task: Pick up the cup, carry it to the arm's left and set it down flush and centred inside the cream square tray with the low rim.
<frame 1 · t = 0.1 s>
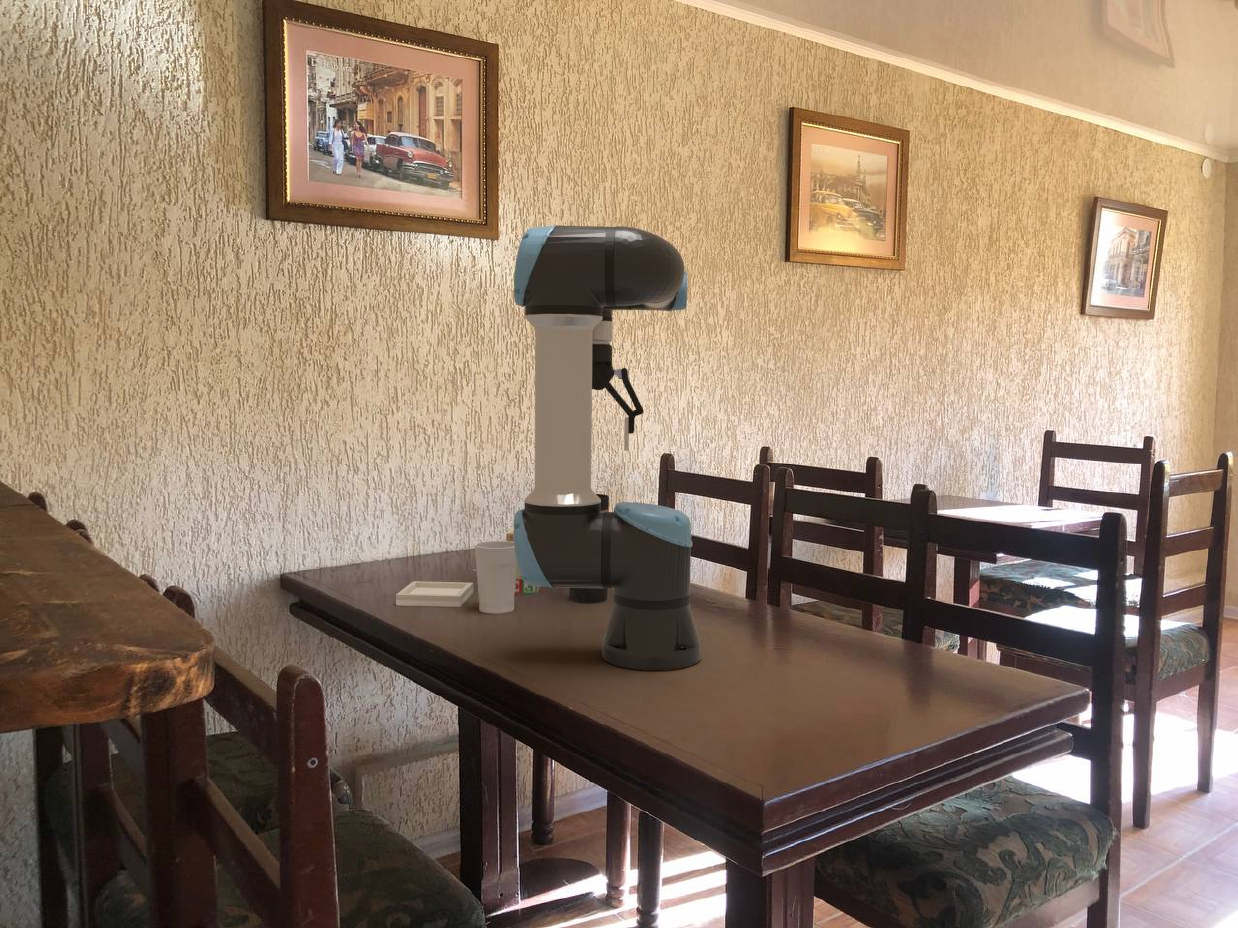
hand: (592, 449, 198), 28 cm above the table, fingers open, 13 cm apart
stack of blocks: (527, 583, 204), on the table
cream square tray: (435, 598, 188), on the table
cup: (496, 610, 180), on the table
travel mug: (588, 600, 189), on the table
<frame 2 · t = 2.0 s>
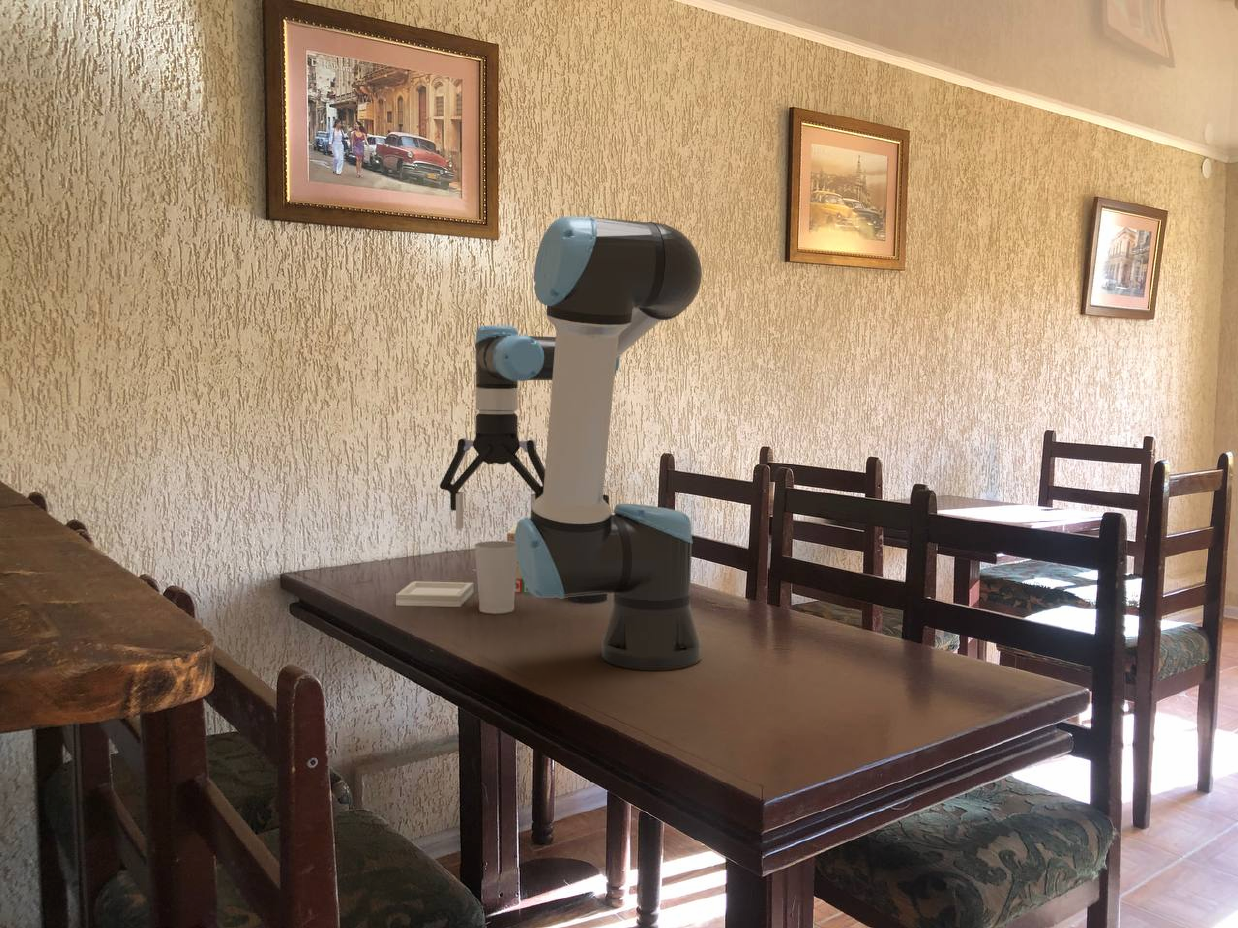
hand: (496, 529, 179), 15 cm above the table, fingers open, 13 cm apart
nothing on the table moved.
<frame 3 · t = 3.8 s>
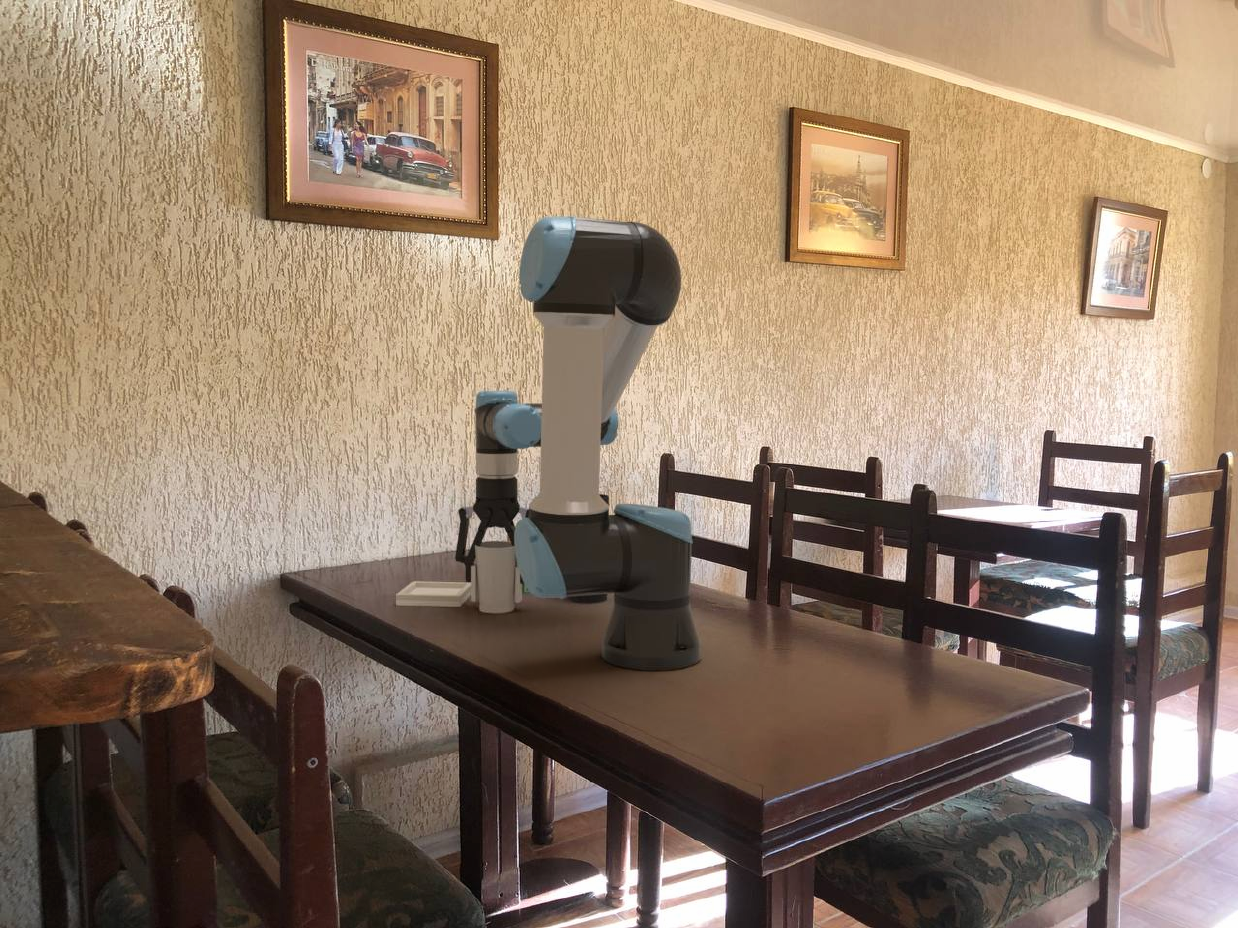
hand: (496, 600, 180), 2 cm above the table, fingers closed on cup, 7 cm apart
cup: (496, 610, 180), on the table, touching gripper
everything else where it was.
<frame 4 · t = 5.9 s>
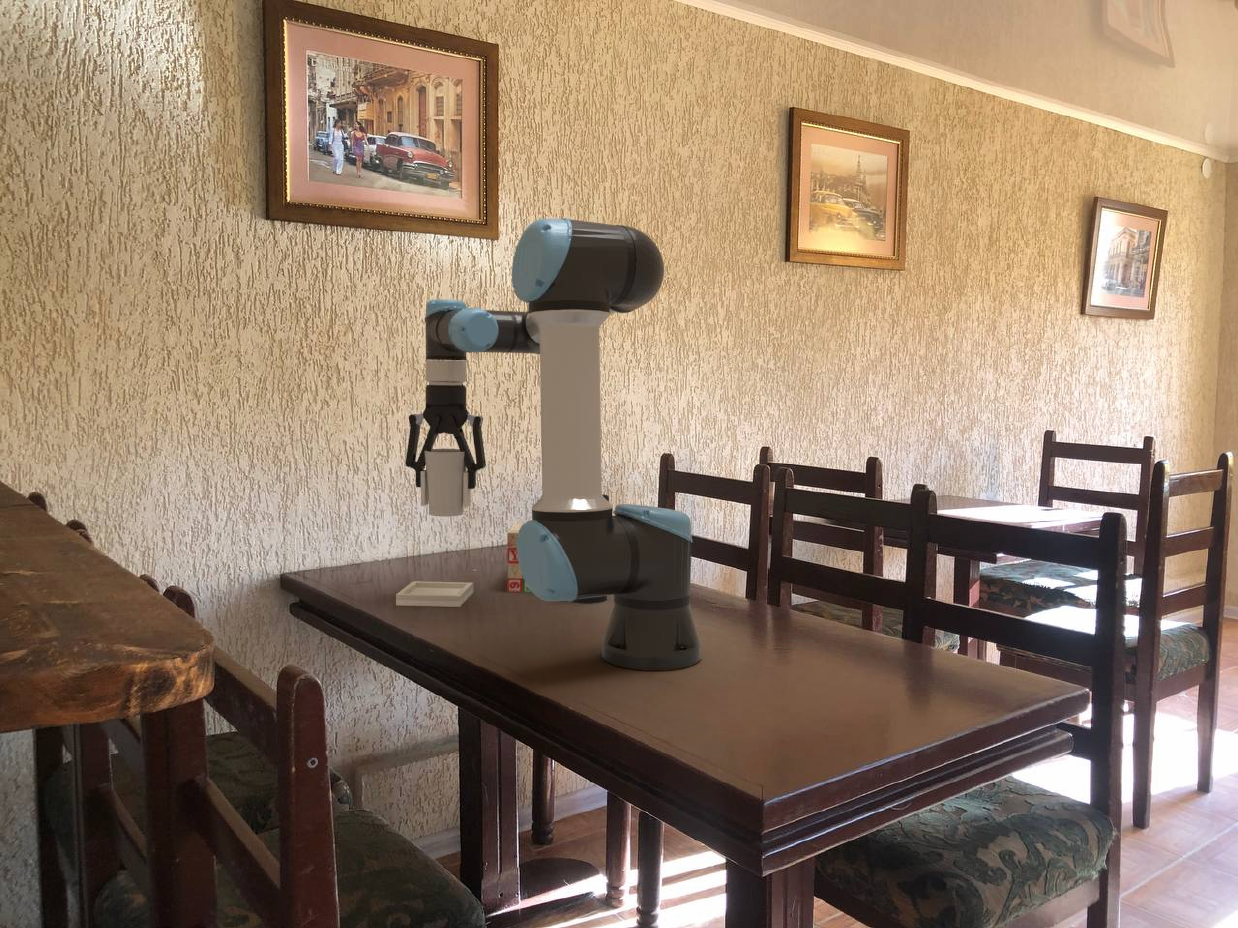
hand: (445, 505, 186), 18 cm above the table, fingers closed on cup, 7 cm apart
cup: (445, 514, 186), point 16 cm above the table, touching gripper
everything else where it was.
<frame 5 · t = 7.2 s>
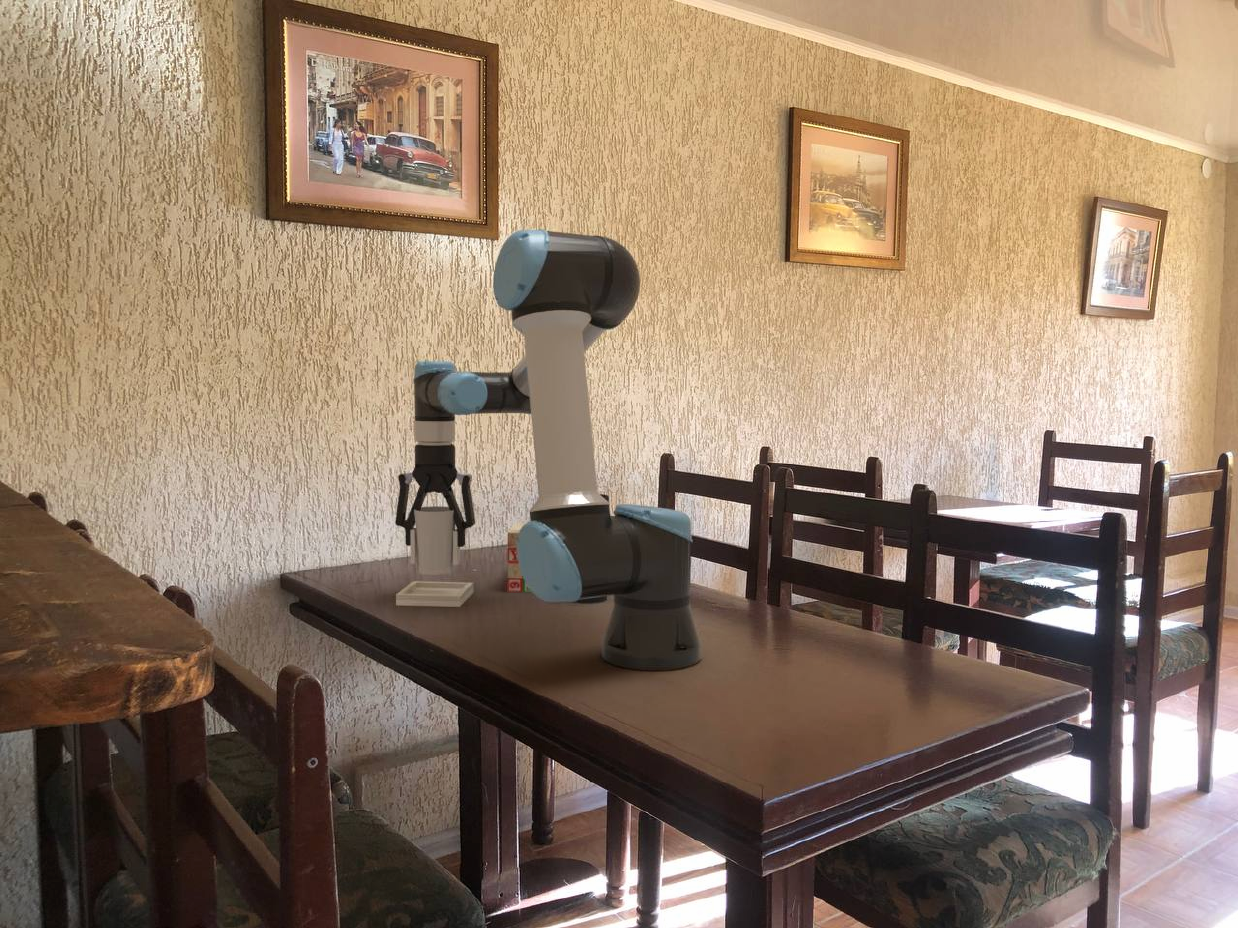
hand: (435, 563, 187), 7 cm above the table, fingers closed on cup, 7 cm apart
cup: (435, 572, 188), point 5 cm above the table, touching gripper
when the fingers open (4 cm above the table, at t = 8.1 s): cup drops 1 cm, resting on cream square tray.
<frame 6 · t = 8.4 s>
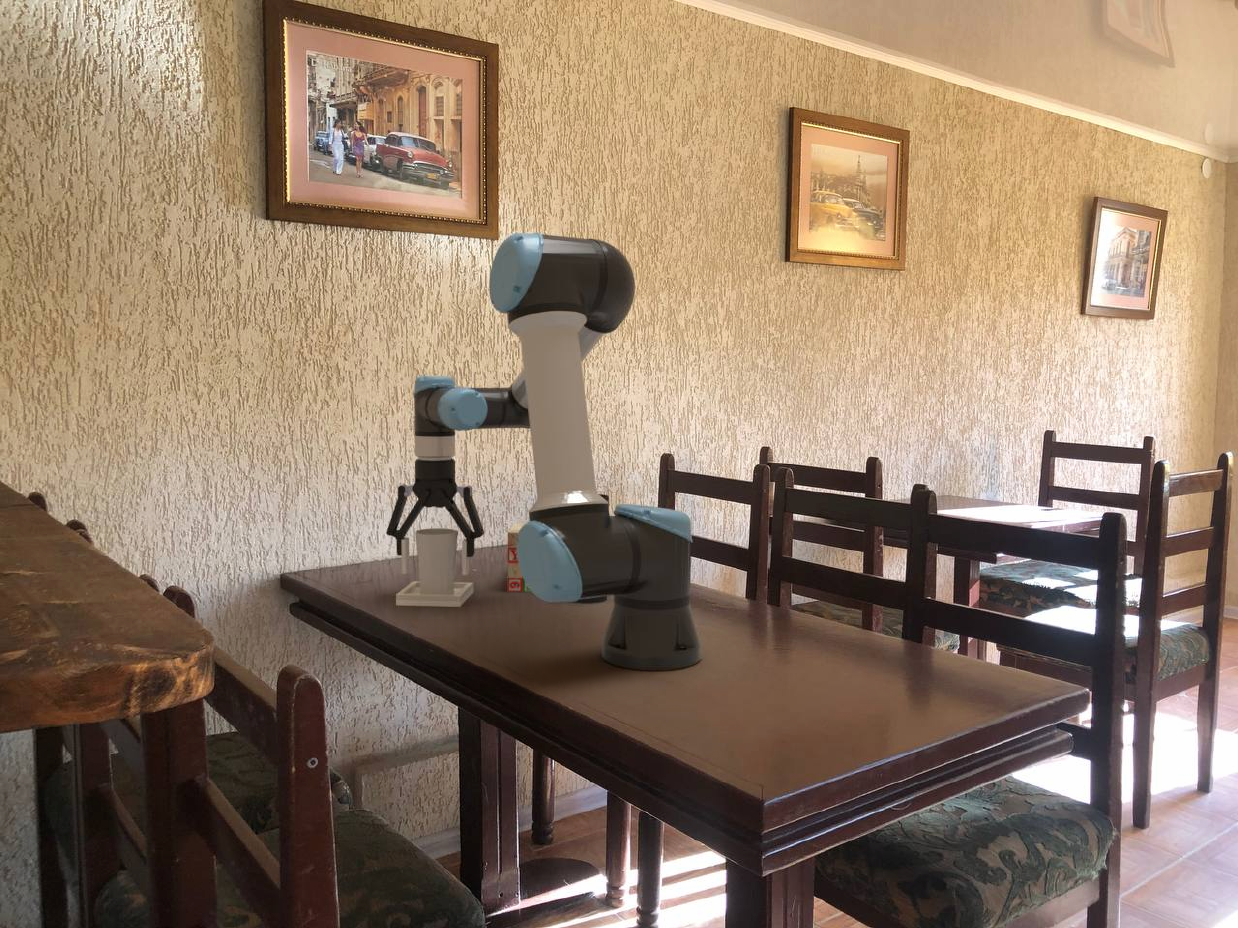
hand: (435, 573, 188), 5 cm above the table, fingers open, 11 cm apart
cup: (436, 594, 188), point 1 cm above the table, touching cream square tray
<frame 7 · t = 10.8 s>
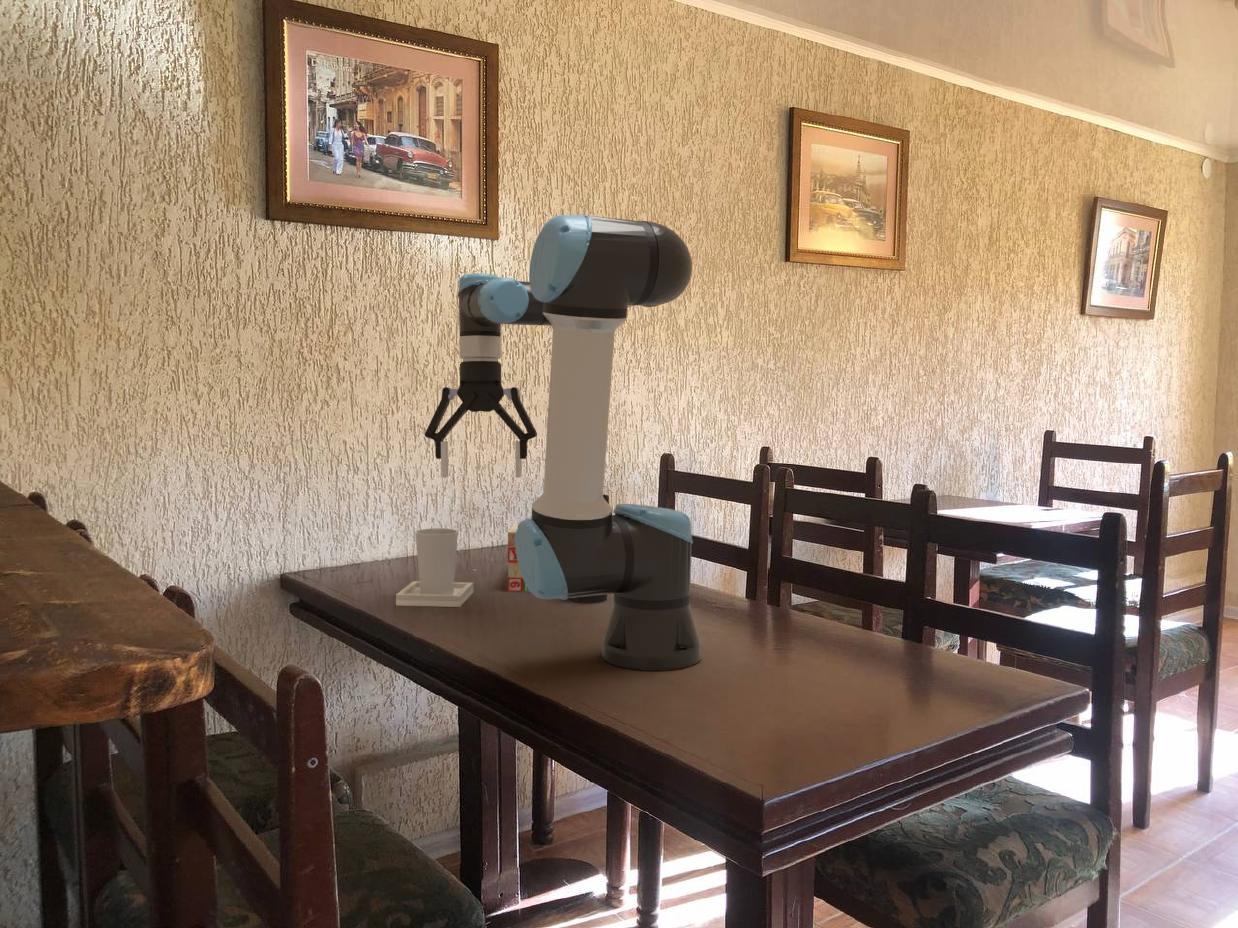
hand: (481, 477, 181), 24 cm above the table, fingers open, 13 cm apart
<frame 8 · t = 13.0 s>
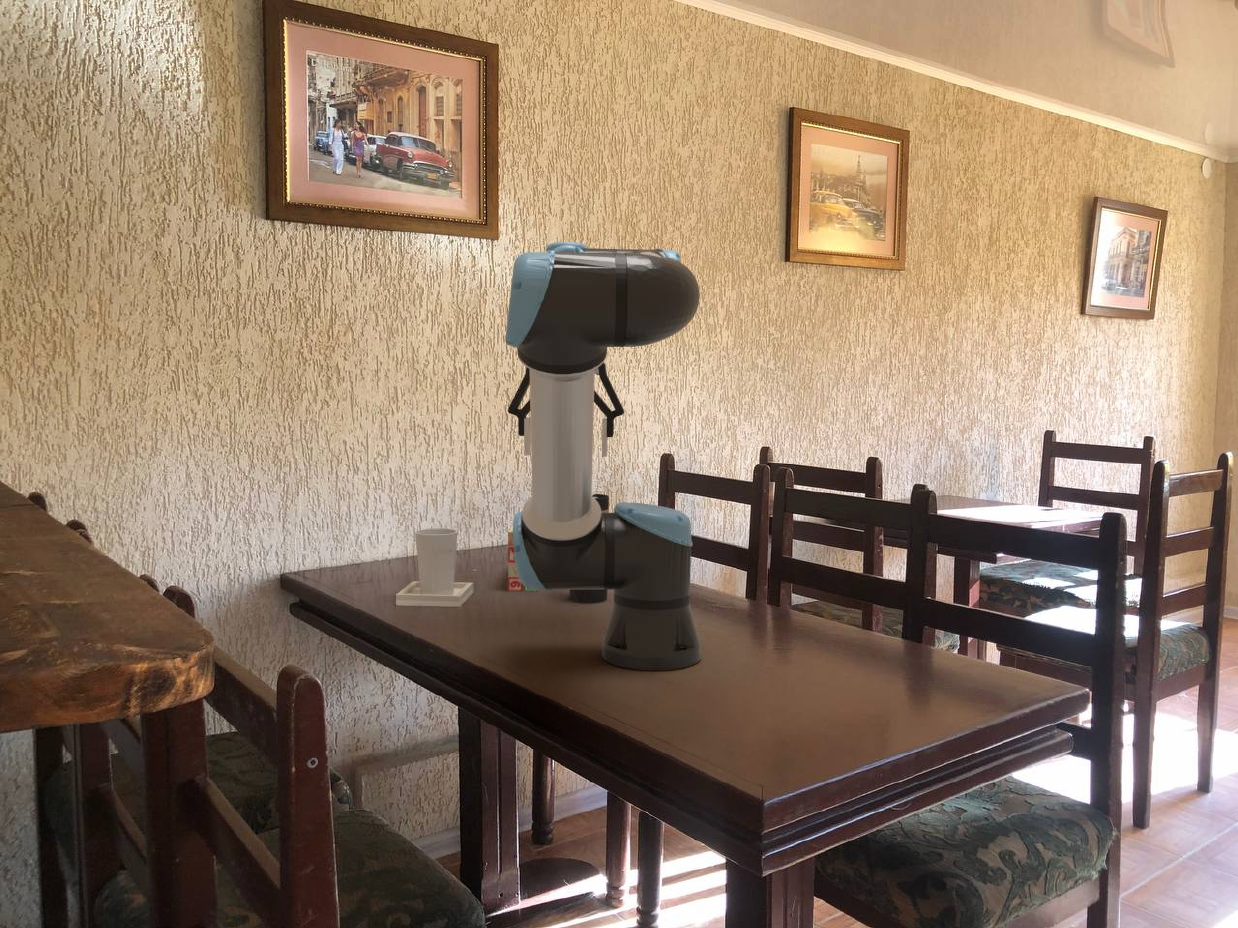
hand: (565, 455, 173), 29 cm above the table, fingers open, 13 cm apart
at the end: cup 0.2 cm off-centre on the cream square tray, point 0.8 cm above the cream square tray's base; cup tilted 0°; the gripper is holding nothing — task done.
